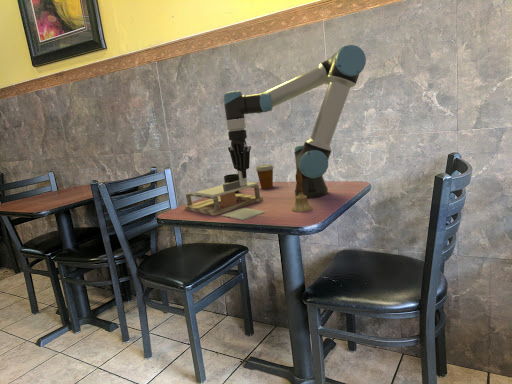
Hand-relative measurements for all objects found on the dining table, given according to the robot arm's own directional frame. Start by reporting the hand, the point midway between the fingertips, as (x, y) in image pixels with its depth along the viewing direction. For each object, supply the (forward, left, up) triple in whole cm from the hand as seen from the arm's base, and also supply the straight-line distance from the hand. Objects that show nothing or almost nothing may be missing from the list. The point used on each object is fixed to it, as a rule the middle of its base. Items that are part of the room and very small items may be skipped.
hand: (243, 185), depth 159 cm
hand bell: (-24, -9, -11) cm, 28 cm away
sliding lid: (+13, 0, -3) cm, 13 cm away
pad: (-6, +7, -10) cm, 14 cm away
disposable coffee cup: (+25, -35, -11) cm, 44 cm away
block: (+13, 0, -10) cm, 17 cm away
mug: (+36, -21, -11) cm, 43 cm away
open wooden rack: (+17, 0, -10) cm, 20 cm away
